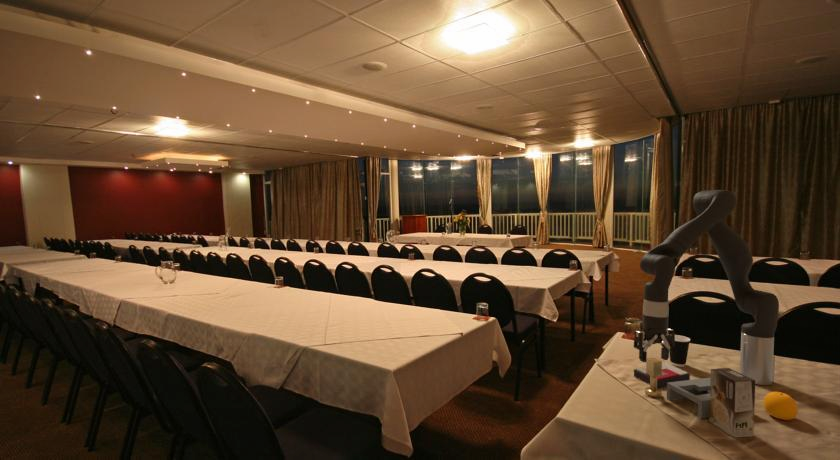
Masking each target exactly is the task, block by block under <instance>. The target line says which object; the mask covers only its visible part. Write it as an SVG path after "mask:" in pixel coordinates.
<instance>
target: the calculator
mask: <svg viewBox="0 0 840 460" xmlns="http://www.w3.org/2000/svg"><path fill="white" fill-rule="evenodd" d="M690 375H691V374H690V373H688V372H687V371H685V370H682V369H680V368H678V367H677V366H674V365H672V364H669V363H666V362H662V376H658V377H657V389H661V388H660V387H662V388H667V383H668V382H677V381H685V380H691V377H690ZM633 376H634V377H635V378H636V379H638V378H639V380H640V379H641V381H642V380H643V382H644V381H645V382H644V383H646V382H647V383H646V384H648V383H649V384H648V385H650V375H649V374H647V373H646V365H645V366H640V367H636V368H635V369H633Z"/></svg>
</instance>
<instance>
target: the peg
mask: <svg viewBox="0 0 840 460" xmlns="http://www.w3.org/2000/svg"><path fill="white" fill-rule="evenodd" d="M662 363H663V361H662V360H660V359H657V358H656V357H653V358H647V361H646V362H645V364H646V365H645V366H646V373H647V374H649V375H650V384H649V387H646V388H645V390H644V391H645V393H644V394H645V395H646V396H647V395H648V397H650V398H654V399H660V398H662V394H663V393H662V390H661V389H660V388H657V377H658V376H662Z"/></svg>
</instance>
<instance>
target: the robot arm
mask: <svg viewBox="0 0 840 460" xmlns="http://www.w3.org/2000/svg"><path fill="white" fill-rule="evenodd" d="M692 205H693V209H694V211H695V214H696V217H695V218H693V219H690V220H689V221H687V222H686V223H684V224H682V225H681V226H679V227H677V228H676V229H674V230H673V231H672V232H671V233H670V234H669V235H668V237H667V238H665V240H663V242H662V243H660V244H658V245H656V246H654V247H653V248H652V249H650V250H649V251H647V252H646V253H645V254H644V255H643V256H642V258H640V262H639V267H640V270H641V271H642V272H643V273H645V274H647V275H651V276H652V275H653V276H654V279H653V281H648V282H646V283H645V284H644V289H643V304H642V320H641V321H642V326H643V327H642V328H643V330H641V331H639V330H637V329H636V330H635V331H634V338H633V339H634V340H633V348H634V349H636V350H638V359H639V361H640V362H642V363H646V361H647V359H648V358H647V356H648V351H647V350H648V348H650V347H652V345H655V344H658V345H660V346H661V350H660V351H661V352H660V356H661V357H660V358H661V359H662V360H664V361H668V359H670V353H669V349H670V348H671V347H675V335H676V334H675V330H674V329H671V328H669V311H670V309H669V290H670V286H671V284H672V281H673V277H674V275H675V272H676V264H675V261H674V259H679V258H681V257H682V256H683V255H684V254H685V253H686V252H687V251H688V250H689V249H690V248H691V246H692V245H694V243H695V242H697V240H699V239H700V238H701V237H702V236H703V235H705V234H706V233H707V235H708V236H709V238H710V241H711V243H712V245H713V246H714V249H715V251H716V254H717V256H718V258H719V261H720V263H721V265H722V267H723V269H724V272H725V274H726V276H727V279H728V281H729V284H730V287H731V288H730V289H731V291H732V294H733V298H734V301H735V303H736V306H737V307H738V309H739V310H740V311H741V312H743V313H744V314H748V315H752V316H755V320H754V322H747V323H743V324H742V325H741V327H740V328H741V330H740V334H741V335H740V353H739V354H740V358H739V373H741V374H743V375H745V376H747V377H749V378H751V379H753V380H755V385H759V386H771V385H772V384H773V383H774V382H775V368H776V367H775V366H776V357H775V356H774V353H775V352H774V350H775V349H774V347H775V332H776V330H777V327H778V320H779V319H778V318H779V309H780V304H779V299H778V296H776V294H775V293H772V292H768V291H762V290H758V289H755V288H753V286H752V285H751V283H750V282H751V281H750V279H749V275H750V271H751V270H752V267H753V263H754V259H753V254H752V253H751V250H750V248H749V245H748V243H747V242H746V241H745V239H743V237H742V236H740V234H738V232H736V231H734V230H733V229H732V228H731V227H730V226H729V225H727V223H726V222H725V221H724V220H725V219H726V218H727V217H728V216H729V215H730V214H732V213H733V212H734V211H735V208H736V206H737V197H736V196H735V194H734V193H733V192H732V191H730V190H727V189H711V190H701V191H699V192H697V193H695V195H694V197H693V200H692ZM670 340H671V343H670Z"/></svg>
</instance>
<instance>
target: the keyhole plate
mask: <svg viewBox="0 0 840 460" xmlns="http://www.w3.org/2000/svg"><path fill="white" fill-rule="evenodd" d="M674 399H675V400H674ZM683 399H688V400H690V401H692V402H694V403H696V404H697V405H698V406H697V417H698V418H699V417H700V418H699V419H708V418H709V415H710V377H704V378H697V379H696V378H695V379H690V380H685V381H677V382H668V383H667V387H666V400H668V401H676V400H683Z"/></svg>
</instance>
